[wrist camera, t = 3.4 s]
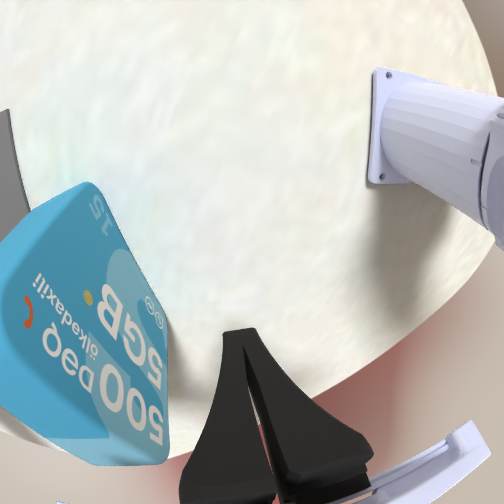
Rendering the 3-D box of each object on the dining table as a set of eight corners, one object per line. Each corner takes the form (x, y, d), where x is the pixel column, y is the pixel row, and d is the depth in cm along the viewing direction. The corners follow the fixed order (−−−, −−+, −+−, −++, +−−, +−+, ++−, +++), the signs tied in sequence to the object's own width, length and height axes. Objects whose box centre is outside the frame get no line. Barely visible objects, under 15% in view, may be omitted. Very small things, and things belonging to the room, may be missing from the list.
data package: (169, 317, 21) (173, 470, 11) (120, 331, 21) (106, 472, 11) (94, 173, 15) (-21, 315, 4) (40, 201, 14) (-69, 337, 4)
